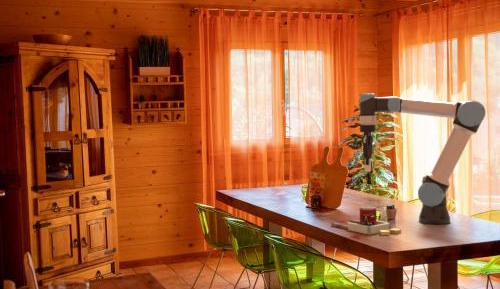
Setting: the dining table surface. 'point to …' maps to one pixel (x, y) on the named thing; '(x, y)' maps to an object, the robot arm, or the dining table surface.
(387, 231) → the chip
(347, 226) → the slot rails
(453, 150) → the robot arm
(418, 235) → the dining table surface
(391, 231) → the chip
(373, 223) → the canned food
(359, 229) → the tray
